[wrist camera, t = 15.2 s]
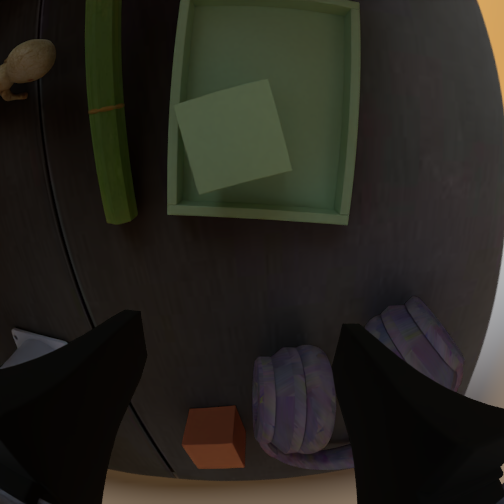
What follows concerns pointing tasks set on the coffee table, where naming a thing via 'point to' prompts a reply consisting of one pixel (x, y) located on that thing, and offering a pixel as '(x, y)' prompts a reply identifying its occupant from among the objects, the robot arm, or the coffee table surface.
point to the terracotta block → (215, 437)
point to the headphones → (323, 389)
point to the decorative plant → (108, 109)
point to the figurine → (26, 66)
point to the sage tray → (286, 99)
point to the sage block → (233, 136)
